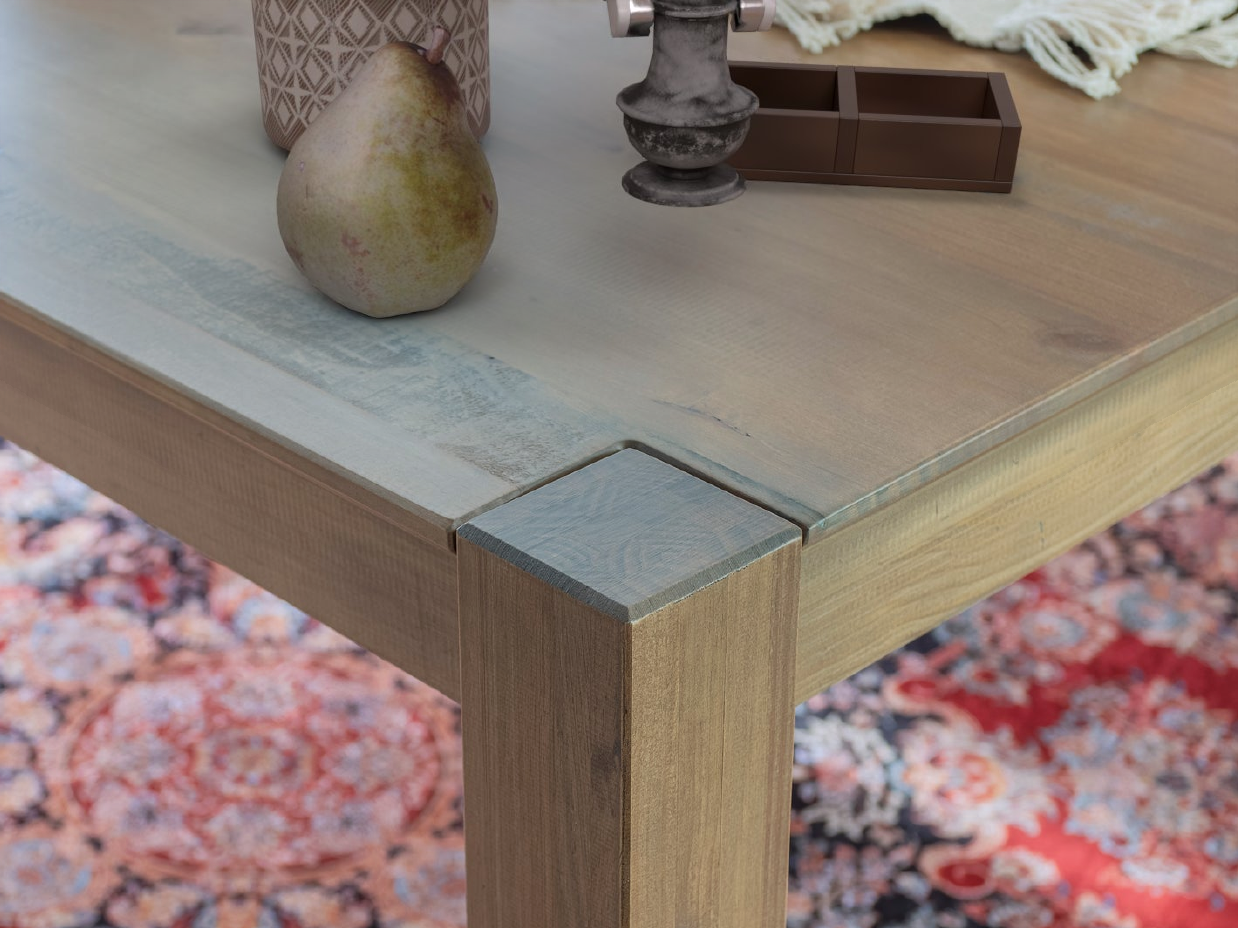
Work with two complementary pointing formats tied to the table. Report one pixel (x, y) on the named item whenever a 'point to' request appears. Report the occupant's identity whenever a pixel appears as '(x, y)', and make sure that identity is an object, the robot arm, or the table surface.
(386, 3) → the planter
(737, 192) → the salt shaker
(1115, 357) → the table surface
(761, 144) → the rack
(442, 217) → the fruit
